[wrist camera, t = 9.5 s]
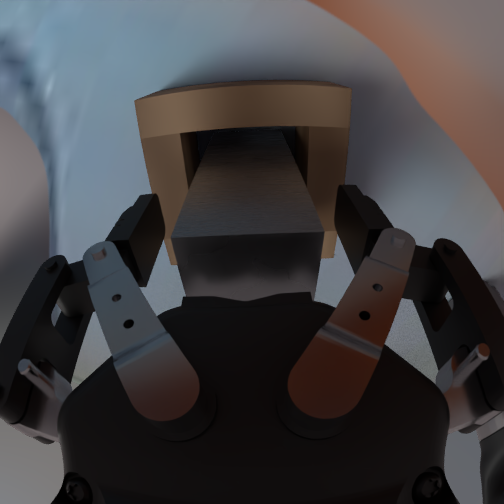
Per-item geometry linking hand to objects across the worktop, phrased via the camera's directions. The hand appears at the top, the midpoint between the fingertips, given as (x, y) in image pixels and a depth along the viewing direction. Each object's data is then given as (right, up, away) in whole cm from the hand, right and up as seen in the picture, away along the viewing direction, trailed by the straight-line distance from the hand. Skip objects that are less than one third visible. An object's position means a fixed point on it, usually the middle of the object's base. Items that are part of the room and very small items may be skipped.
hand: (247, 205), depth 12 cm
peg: (0, +4, +5) cm, 6 cm away
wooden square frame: (0, +4, +5) cm, 6 cm away
